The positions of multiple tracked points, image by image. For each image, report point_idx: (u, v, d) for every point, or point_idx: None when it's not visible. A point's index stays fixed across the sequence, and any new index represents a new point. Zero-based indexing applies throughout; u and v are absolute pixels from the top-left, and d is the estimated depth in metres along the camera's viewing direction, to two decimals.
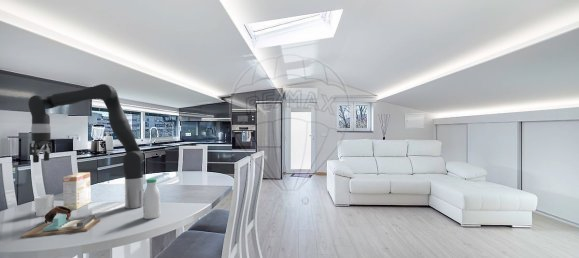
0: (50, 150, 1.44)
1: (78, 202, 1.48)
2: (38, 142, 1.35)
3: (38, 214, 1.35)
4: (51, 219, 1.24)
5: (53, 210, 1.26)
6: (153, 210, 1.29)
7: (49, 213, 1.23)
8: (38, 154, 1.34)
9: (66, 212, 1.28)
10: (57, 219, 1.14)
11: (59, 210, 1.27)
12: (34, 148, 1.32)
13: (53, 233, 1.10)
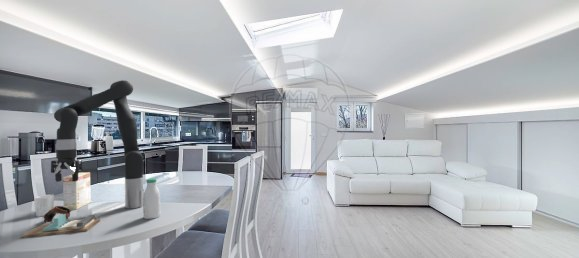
0: None
1: (78, 202, 1.48)
2: None
3: (38, 214, 1.35)
4: (50, 219, 1.24)
5: (52, 210, 1.26)
6: (153, 210, 1.29)
7: (48, 213, 1.23)
8: None
9: (65, 212, 1.29)
10: (57, 219, 1.14)
11: (58, 210, 1.27)
12: (81, 165, 1.24)
13: (53, 233, 1.10)
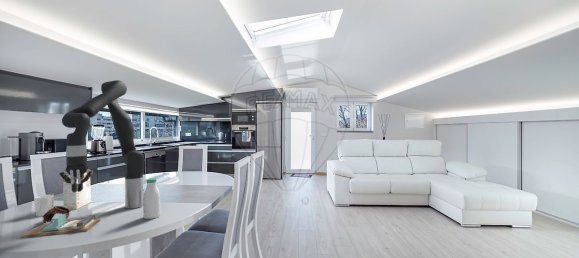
0: None
1: (78, 202, 1.48)
2: None
3: (38, 214, 1.35)
4: (50, 219, 1.24)
5: (52, 210, 1.26)
6: (153, 210, 1.29)
7: (48, 213, 1.23)
8: None
9: (65, 212, 1.29)
10: (57, 219, 1.14)
11: (58, 210, 1.27)
12: (90, 176, 1.21)
13: (53, 233, 1.10)
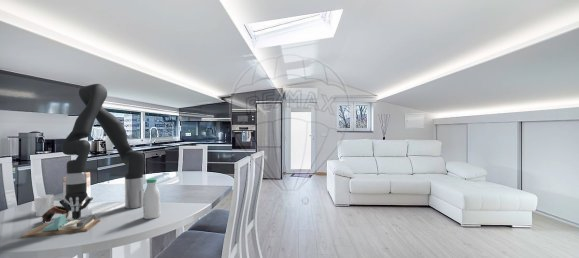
0: None
1: None
2: None
3: (38, 214, 1.35)
4: (49, 219, 1.24)
5: (51, 210, 1.26)
6: (153, 210, 1.29)
7: (47, 213, 1.23)
8: None
9: (64, 212, 1.29)
10: (57, 219, 1.14)
11: (57, 210, 1.27)
12: (88, 203, 1.20)
13: (53, 233, 1.10)
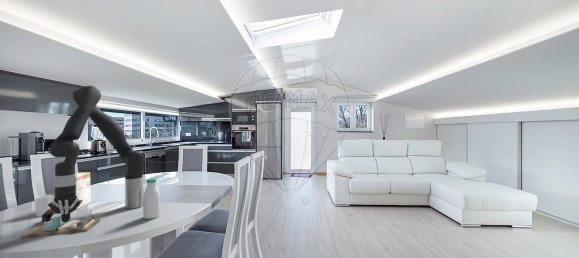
0: None
1: None
2: None
3: (38, 214, 1.35)
4: (48, 219, 1.24)
5: (50, 210, 1.26)
6: (153, 210, 1.29)
7: (46, 213, 1.23)
8: None
9: None
10: (55, 219, 1.14)
11: None
12: (78, 205, 1.19)
13: (53, 233, 1.10)
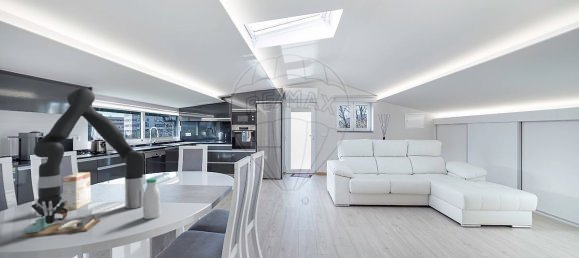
0: None
1: (78, 202, 1.48)
2: None
3: (38, 214, 1.35)
4: None
5: None
6: (153, 210, 1.29)
7: None
8: None
9: (63, 212, 1.29)
10: (39, 221, 1.12)
11: None
12: None
13: (53, 233, 1.10)
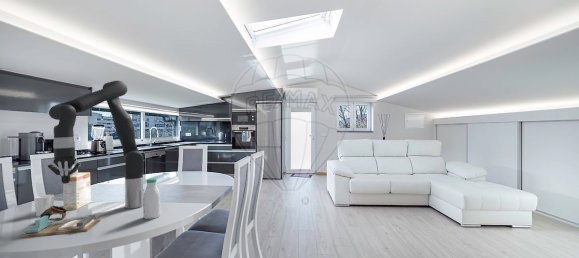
0: None
1: (78, 202, 1.48)
2: None
3: (38, 214, 1.35)
4: None
5: (48, 210, 1.27)
6: (153, 210, 1.29)
7: (44, 213, 1.23)
8: None
9: (61, 212, 1.29)
10: (39, 221, 1.12)
11: (54, 210, 1.27)
12: None
13: (53, 233, 1.10)
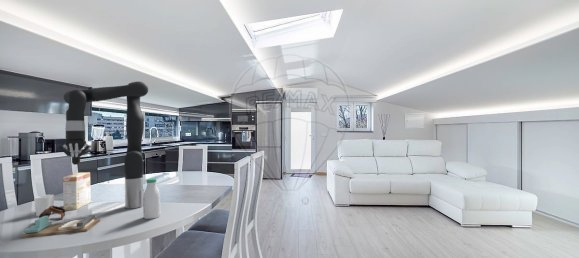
0: None
1: (78, 202, 1.48)
2: None
3: (38, 214, 1.35)
4: None
5: (47, 210, 1.27)
6: (153, 210, 1.29)
7: (44, 213, 1.23)
8: None
9: (61, 212, 1.29)
10: (39, 221, 1.12)
11: (53, 210, 1.27)
12: (87, 150, 1.28)
13: (53, 233, 1.10)
